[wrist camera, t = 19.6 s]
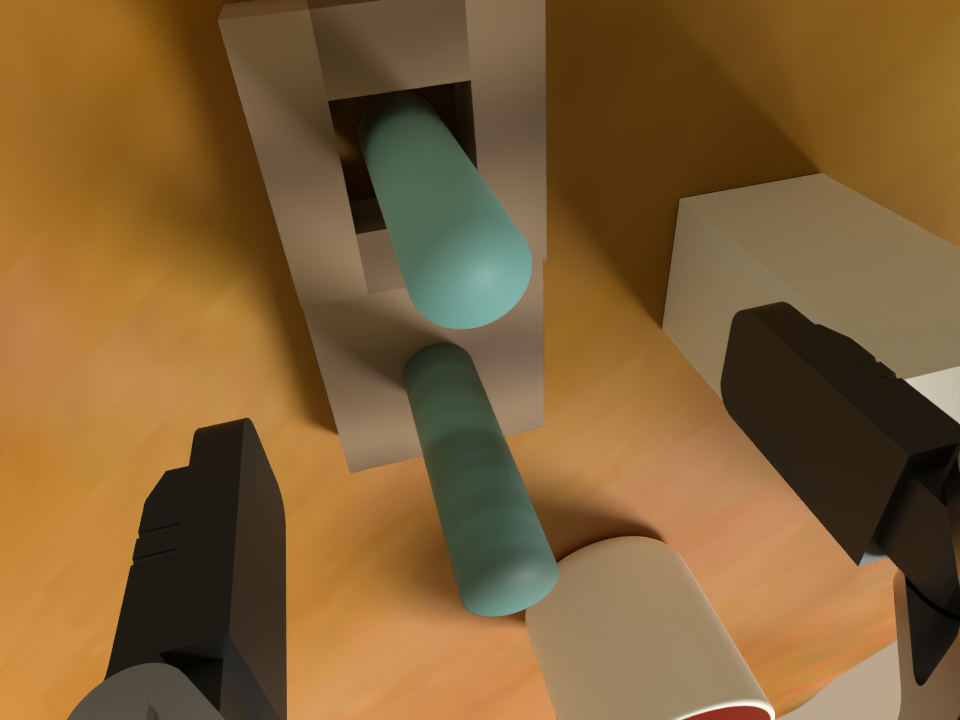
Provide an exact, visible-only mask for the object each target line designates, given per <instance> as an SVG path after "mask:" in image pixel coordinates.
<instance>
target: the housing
mask: <svg viewBox="0 0 960 720" xmlns="http://www.w3.org/2000/svg"><path fill="white" fill-rule="evenodd" d="M776 302H786V303H789V304H790V305H792V306H793V307H794V308H796V309H797V310H798V311H799V312H800V313H802V314H803V315H804V316H805V317H807V318H808V319H809V320H810V321H811V322H813V323H814V324H821V325H823V326H825V327H827V328H830V329H832V330H834V331H836V332H839V333H841V334H843V335H845V336H848V337H850V338H852V339H853V340H854V341H855V342H857V343H858V344H859V345H860V346H862V347H863V348H864V349H866V350H867V351H868V352H869V353H871V354H872V355H873V356H874V357H876V358H875V359H876V361H877V362H880V361H881V362H882V363H883V364H885V365H886V366H887V367H888V368H890V369H891V370H892V371H893V372H895V373H896V377H897V378H902V379H903V380H905V381H906V382H907V383H909V384H910V385H911V386H912V387H914V388H915V389H916V390H917V391H919V392H920V393H921V394H922V395H924V396H925V397H926V398H928V399H929V400H930V401H931V402H933V403H934V404H935V405H936V406H938V407H939V408H940V409H941V410H943V411H944V412H945V413H946V414H948V415H949V416H950V417H952V418H953V419H954V420H955V421H957V422H958V423H959V424H960V248H958V247H956V246H955V245H953V244H951V243H949V242H947V241H946V240H944V239H942V238H940V237H938V236H936V235H935V234H933V233H931V232H929V231H927V230H925V229H924V228H922V227H920V226H918V225H916V224H914V223H913V222H911V221H909V220H907V219H905V218H904V217H902V216H900V215H898V214H896V213H894V212H893V211H891V210H889V209H887V208H885V207H883V206H882V205H880V204H878V203H876V202H874V201H872V200H871V199H869V198H867V197H865V196H863V195H862V194H860V193H858V192H856V191H854V190H852V189H851V188H849V187H847V186H845V185H843V184H841V183H840V182H838V181H836V180H834V179H832V178H830V177H829V176H827V175H825V174H823V173H819V174H813V175H808V176H802V177H797V178H791V179H786V180H780V181H775V182H769V183H763V184H758V185H752V186H747V187H741V188H736V189H730V190H725V191H719V192H714V193H708V194H703V195H697V196H692V197H686V198H681V199H680V201H679V208H678V215H677V223H676V230H675V237H674V245H673V252H672V259H671V267H670V274H669V281H668V289H667V296H666V303H665V311H664V318H663V325H662V331H663V332H664V333H665V334H666V335H667V336H668V338H669V339H670V340H671V341H672V342H673V343H674V345H675V346H676V347H677V348H678V349H679V351H680V352H681V353H682V354H683V355H684V356H685V358H686V359H687V360H688V361H689V362H690V363H691V365H692V366H693V367H694V368H695V369H696V370H697V372H698V373H699V374H700V375H701V376H702V377H703V379H704V380H705V381H706V382H707V383H708V384H709V386H710V387H711V388H712V389H713V390H714V391H715V393H716V394H717V395H718V396H719V397H720V399H721V400H722V401H723V399H722V395H721V389H720V382H721V376H722V370H723V365H724V360H725V354H726V349H727V344H728V338H729V333H730V328H731V323H732V319H733V317H734V315H735V314H736V313H737V312H738V311H740V310H744V309H749V308H753V307H758V306H763V305H767V304H772V303H776Z"/></svg>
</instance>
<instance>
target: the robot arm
mask: <svg viewBox="0 0 960 720" xmlns="http://www.w3.org/2000/svg"><path fill="white" fill-rule="evenodd" d="M875 358H876V357H874V356H873V355H872V354H871V353H869V352H868V351H867V350H866V349H864V348H863V347H862V346H860V345H859V344H858V343H857V342H855V341H854V340H853V339H852V338H850V337H848V336H845V335H843V334H841V333H839V332H836V331H834V330H832V329H830V328H827V327H825V326H823V325H821V324H814V323H813V322H811V321H810V320H809V319H808V318H807V317H805V316H804V315H803V314H802V313H800V312H799V311H798V310H797V309H796V308H794V307H793V306H792V305H790V304H789V303H786V302H776V303H772V304H767V305H763V306H758V307H753V308H749V309H744V310H740V311H738V312H737V313H736V314H735V315H734V317H733V319H732V323H731V328H730V333H729V338H728V344H727V349H726V354H725V360H724V365H723V370H722V376H721V382H720V389H721V395H722V399H723V403H724V405H725V407H726V410H727V411H728V413H729V415H730V416H731V417H732V419H733V420H734V421H735V422H736V423H737V424H738V426H739V427H740V428H741V429H742V430H743V431H744V433H745V434H746V435H747V436H748V437H749V439H750V440H751V441H752V442H753V443H754V444H755V446H756V447H757V448H758V449H759V450H760V451H761V453H762V454H763V455H764V456H765V457H766V459H767V460H768V461H769V462H770V463H771V464H772V466H773V467H774V468H775V469H776V470H777V471H778V473H779V474H780V475H781V476H782V477H783V479H784V480H785V481H786V482H787V483H788V484H789V486H790V487H791V488H792V489H793V490H794V492H795V493H796V494H797V495H798V496H799V497H800V499H801V500H802V501H803V502H804V503H805V504H806V506H807V507H808V508H809V509H810V510H811V512H812V513H813V514H814V515H815V516H816V517H817V519H818V520H819V521H820V522H821V523H822V524H823V526H824V527H825V528H826V529H827V530H828V532H829V533H830V534H831V535H832V536H833V537H834V539H835V540H836V541H837V542H838V543H839V544H840V546H841V547H842V548H843V549H844V550H845V552H846V553H847V554H848V555H849V556H850V557H851V559H852V560H853V561H854V562H855V563H856V564H857V566H858V567H859V566H862V565H866V564H869V563H872V562H876V561H879V560H883V559H886V558H890V559H891V560H892V561H893V563H894V564H895V565H896V566H897V567H898V570H897V572H896V574H895V577H894V580H893V589H894V602H895V615H896V629H897V641H898V654H899V668H900V680H901V707H900V713H899V717H898V720H960V424H959V423H958V422H957V421H955V420H954V419H953V418H952V417H950V416H949V415H948V414H946V413H945V412H944V411H943V410H941V409H940V408H939V407H938V406H936V405H935V404H934V403H933V402H931V401H930V400H929V399H928V398H926V397H925V396H924V395H922V394H921V393H920V392H919V391H917V390H916V389H915V388H914V387H912V386H911V385H910V384H909V383H907V382H906V381H905V380H903V379H902V378H897V377H896V373H895V372H893V371H892V370H891V369H890V368H888V367H887V366H886V365H885V364H883V363H882V362H881V361H880V362H877V361H876V359H875ZM138 533H139V538H138V539H137V540H136V544H135V549H134V553H133V558H132V559H133V565H131V567H130V571H129V576H128V580H127V585H126V589H125V594H124V598H123V603H122V607H121V612H120V616H119V621H118V625H117V630H116V634H115V639H114V643H113V648H112V652H111V657H110V661H109V666H108V669H107V673H106V676H105V679H104V681H103V682H102V683H101V684H99V685H98V686H97V687H95V688H94V689H93V690H92V691H91V692H90V693H89V694H88V695H87V696H85V697H84V698H83V700H82V701H81V702H80V703H79V704H78V705H77V706H76V708H75V709H74V710H73V711H72V713H71V714H70V716H69V717H68V719H67V720H287V674H286V523H285V512H284V506H283V501H282V496H281V493H280V489H279V486H278V483H277V481H276V478H275V476H274V474H273V471H272V469H271V466H270V464H269V461H268V459H267V456H266V454H265V451H264V449H263V447H262V444H261V442H260V439H259V437H258V434H257V432H256V429H255V427H254V425H253V423H252V421H251V420H250V419H249V418H244V419H239V420H235V421H230V422H226V423H221V424H217V425H212V426H208V427H203V428H199V429H197V430H196V431H195V433H194V437H193V443H192V450H191V456H190V462H189V466H186V467H182V468H177V469H173V470H169V471H166V472H165V473H164V475H163V476H162V478H161V479H160V480H159V482H158V483H157V485H156V486H155V488H154V489H153V491H152V492H151V493H150V495H149V496H148V498H147V499H146V501H145V504H144V509H143V513H142V517H141V522H140V526H139V531H138Z"/></svg>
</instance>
